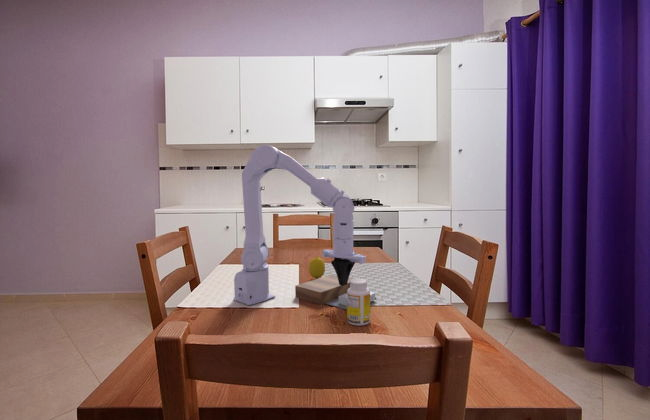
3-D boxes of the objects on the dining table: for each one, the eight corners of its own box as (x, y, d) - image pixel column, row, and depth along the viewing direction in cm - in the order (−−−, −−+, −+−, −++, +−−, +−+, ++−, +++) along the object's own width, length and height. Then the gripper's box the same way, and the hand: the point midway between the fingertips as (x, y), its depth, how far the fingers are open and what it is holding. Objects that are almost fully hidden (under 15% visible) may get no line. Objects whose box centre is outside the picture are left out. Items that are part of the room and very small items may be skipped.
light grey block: (338, 296, 103) (338, 303, 103) (356, 301, 99) (356, 308, 99) (357, 288, 110) (357, 295, 110) (375, 292, 106) (375, 299, 106)
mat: (348, 310, 98) (348, 309, 98) (325, 303, 104) (325, 302, 104) (376, 298, 108) (376, 297, 108) (354, 292, 113) (354, 291, 113)
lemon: (306, 278, 129) (306, 255, 129) (321, 276, 132) (320, 254, 131) (312, 282, 124) (312, 258, 124) (327, 280, 127) (327, 257, 126)
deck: (320, 304, 103) (320, 292, 102) (295, 297, 109) (295, 285, 109) (355, 291, 115) (355, 280, 114) (330, 285, 121) (330, 274, 121)
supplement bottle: (367, 317, 94) (367, 277, 93) (372, 326, 88) (372, 283, 87) (345, 318, 93) (345, 278, 92) (348, 327, 88) (349, 284, 87)
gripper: (372, 238, 104) (372, 286, 106) (332, 233, 114) (332, 277, 115) (357, 242, 99) (357, 292, 100) (317, 236, 109) (317, 282, 110)
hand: (343, 284), depth 107 cm, fingers closed
